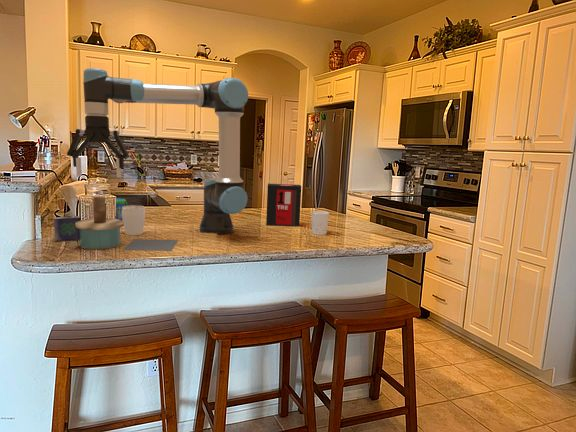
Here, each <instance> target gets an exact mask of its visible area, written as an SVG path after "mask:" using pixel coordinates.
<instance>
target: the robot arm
mask: <svg viewBox="0 0 576 432" xmlns="http://www.w3.org/2000/svg"><path fill="white" fill-rule="evenodd" d="M82 84H83V99H84V114H85V117H84V123H85V129H81V128H75V135H74V137H73V140H72V142H71V144H70V146H69V148H68V150H67V151H66V155H67V156H69V157H71V158H72V163H73V167H74V168H76V170H75V171H76V177H77V178H78V177H79V178H80V177H82V175H83V174H82V158H81V157H79V156H80V155H81V154H82V153H83V152H84V151H85V150H86V148H87V147H88V146H89V145H90V144H91V143H92V144H93V143H94V144H98V143H99V144H104V143H105V145H106V146H108V148H109V149H110V150H111V151H112V153H113V154H114V155H115V156H116V157H117V158H116V178H117V179H118V178H119V179H120V178H122V169H124V167H125V162H124V159H126V158H129V157H130V154H129V152H128V151H127V148H126V147H125V145H124V143H123V141H122V139H121V137H120V132H119V130H110V119H109V117H108V116H109V100H111V101H112V102H114V103H116V104H124V103H125V104H126V103H128V104H130V103H131V104H161V105H164V104H165V105H166V104H167V105H190V106H191V105H194V106H195V105H196V106H197V107H198V108H206V109H213V110H214V114H215V115H216V116H217V117H218V177H217V178H216V179H207V180H205V181H204V183H203V214H202V218H201V221H200V223H199V232H200V233H203V234H217V235H225V234H231V233H233V232H234V223H233V220H232V217H231V215H237V214H239V213H240V212H242V211H243V210H244V209H245V208H246V207H247V203H248V199H249V197H248V194H247V192H246V190H245V189H244V180H243V179H242V177H241V176H240V174H241V173H240V172H241V169H240V168H241V161H240V160H241V159H240V158H241V156H240V154H241V149H240V148H241V118H242V117H243V115H245V114H244V112H245V111H244V110H245V105H246V104H247V102H248V100H249V89H248V88H247V86H246V85H245V84H244V82H243V81H242V80H240V79H238V78H235V77H227V78H226V77H225V78H223V79H221V80H216V81H214V82H213V81H212V82H208V83H197V84H196V85H186V84H184V85H183V84H167V83H164V84H163V83H162V84H161V83H147V82H146V83H144V82H143V81H142V80H140V79H134V78H123V77H114V76H113V77H112V76H110V75H108V71H107V70H105V69H101V68H96V67H95V68H94V67H93V68H92V67H91V68H86V69H84V71H83V82H82ZM84 135H85V137H86V138H85V139H84V140H83V142H82V143H81V144H80V146H78V145H79V143H80V141H81V139H82V136H84ZM110 136H111V137H112V138H113V139H114V140H115V142H116V144H117V146H118V148H119V149H118V148H117V146H116V145H115V144H113V142H112V141H111V140H110V139H109V137H110ZM77 147H78V148H77Z"/></svg>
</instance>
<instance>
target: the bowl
mask: <svg viewBox="0 0 576 432" xmlns="http://www.w3.org/2000/svg"><path fill="white" fill-rule="evenodd" d="M120 245H121V227H120V228H115V229H108V230H84V229H80V240H79V246H80V248H83V249H88V250H104V249H111V248H116V247H118V246H120Z"/></svg>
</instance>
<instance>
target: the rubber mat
mask: <svg viewBox="0 0 576 432" xmlns="http://www.w3.org/2000/svg"><path fill="white" fill-rule="evenodd" d="M178 242H179V240H178V239H154V238H153V239H152V238H151V239H148V238H145V239H144V238H141V239H140V238H134V239H132V240H131V241H130V242H129V243H128V244H127V245H126V246H125V247H123V248H122V251H144V252H145V251H152V252H153V251H154V252H156V251H157V252H158V251H159V252H161V251H162V252H172V251H173V250H174V248H175V246H176V244H177V243H178Z"/></svg>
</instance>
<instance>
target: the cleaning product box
mask: <svg viewBox="0 0 576 432" xmlns="http://www.w3.org/2000/svg"><path fill="white" fill-rule="evenodd" d="M266 190H267V194H266V195H267V198H266V199H267V200H266V218H265V219H266V222H265V226H271V227H273V226H274V227H276V226H278V227H299V228H300V224H301V223H300V222H301V221H300V220H301V206H302V205H301V204H302V203H301V201H302V185H301V184H292V183H291V184H290V183H267V189H266Z"/></svg>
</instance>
